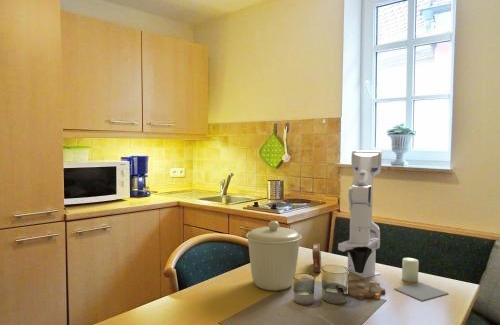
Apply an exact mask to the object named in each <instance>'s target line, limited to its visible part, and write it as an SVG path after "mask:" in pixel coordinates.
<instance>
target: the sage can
mask: <svg viewBox="0 0 500 325" xmlns="http://www.w3.org/2000/svg"><path fill="white" fill-rule="evenodd" d="M401 265H402V266H401V267H402V269H401V270H402V271H401V273H402V274H401V279H402V281H405V282H409V283H419V265H420V263H419V260H418V259H416V258H412V257H403V258H402V264H401Z"/></svg>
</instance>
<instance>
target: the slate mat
mask: <svg viewBox="0 0 500 325" xmlns="http://www.w3.org/2000/svg"><path fill="white" fill-rule="evenodd" d="M394 291H396V292H399V293H402V294H404V295H406V296H409V297H410V298H413V299H415V300H417V301H420V302H424V301H428V300H432V299H435V298H439V297H440V298H441V297H443V296H447V295H449V292H447V291H444V290H441V289H439V288H436V287H433V286H431V285H428V284H426V283H423V282H419V281H418V282H414V283H412V284H407V285H403V286H398V287H395V288H394Z"/></svg>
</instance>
